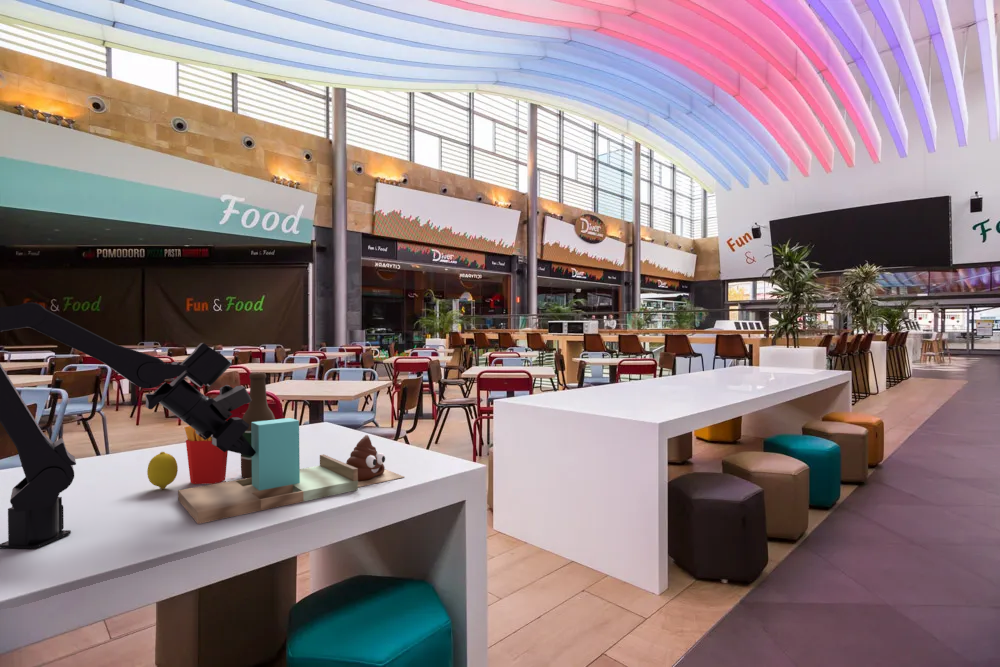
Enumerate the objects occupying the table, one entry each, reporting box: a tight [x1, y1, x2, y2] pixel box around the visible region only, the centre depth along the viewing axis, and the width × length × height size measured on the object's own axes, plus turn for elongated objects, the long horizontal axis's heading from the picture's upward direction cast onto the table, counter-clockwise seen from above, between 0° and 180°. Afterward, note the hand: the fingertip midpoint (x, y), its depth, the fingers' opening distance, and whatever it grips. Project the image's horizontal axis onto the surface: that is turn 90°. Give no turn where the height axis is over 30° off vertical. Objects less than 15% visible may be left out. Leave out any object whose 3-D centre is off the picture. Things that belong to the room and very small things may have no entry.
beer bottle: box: [240, 372, 276, 479], centre depth 126 cm, size 8×8×24 cm
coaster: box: [358, 468, 405, 488], centre depth 123 cm, size 13×13×1 cm
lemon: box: [146, 451, 179, 490], centre depth 116 cm, size 6×6×8 cm
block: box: [251, 417, 301, 491], centre depth 111 cm, size 8×5×13 cm, turn 130°
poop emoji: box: [345, 434, 386, 481], centre depth 123 cm, size 10×8×9 cm
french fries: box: [184, 425, 229, 485], centre depth 121 cm, size 9×4×13 cm, turn 90°
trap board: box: [177, 454, 359, 525], centre depth 110 cm, size 30×18×4 cm, turn 130°
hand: (253, 454), depth 108 cm, fingers closed, pressing on block
